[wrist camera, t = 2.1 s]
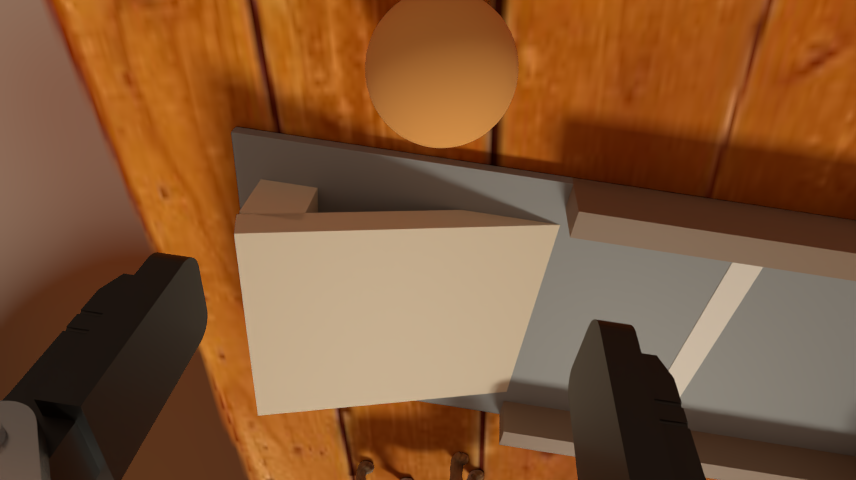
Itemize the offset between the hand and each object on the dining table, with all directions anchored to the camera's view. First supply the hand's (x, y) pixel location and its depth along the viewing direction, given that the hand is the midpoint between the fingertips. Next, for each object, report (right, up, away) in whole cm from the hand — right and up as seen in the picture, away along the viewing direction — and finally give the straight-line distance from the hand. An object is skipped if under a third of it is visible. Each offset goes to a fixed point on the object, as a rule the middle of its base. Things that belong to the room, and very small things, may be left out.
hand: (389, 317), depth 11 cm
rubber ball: (+1, +8, +10) cm, 13 cm away
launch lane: (+11, -3, +22) cm, 25 cm away
